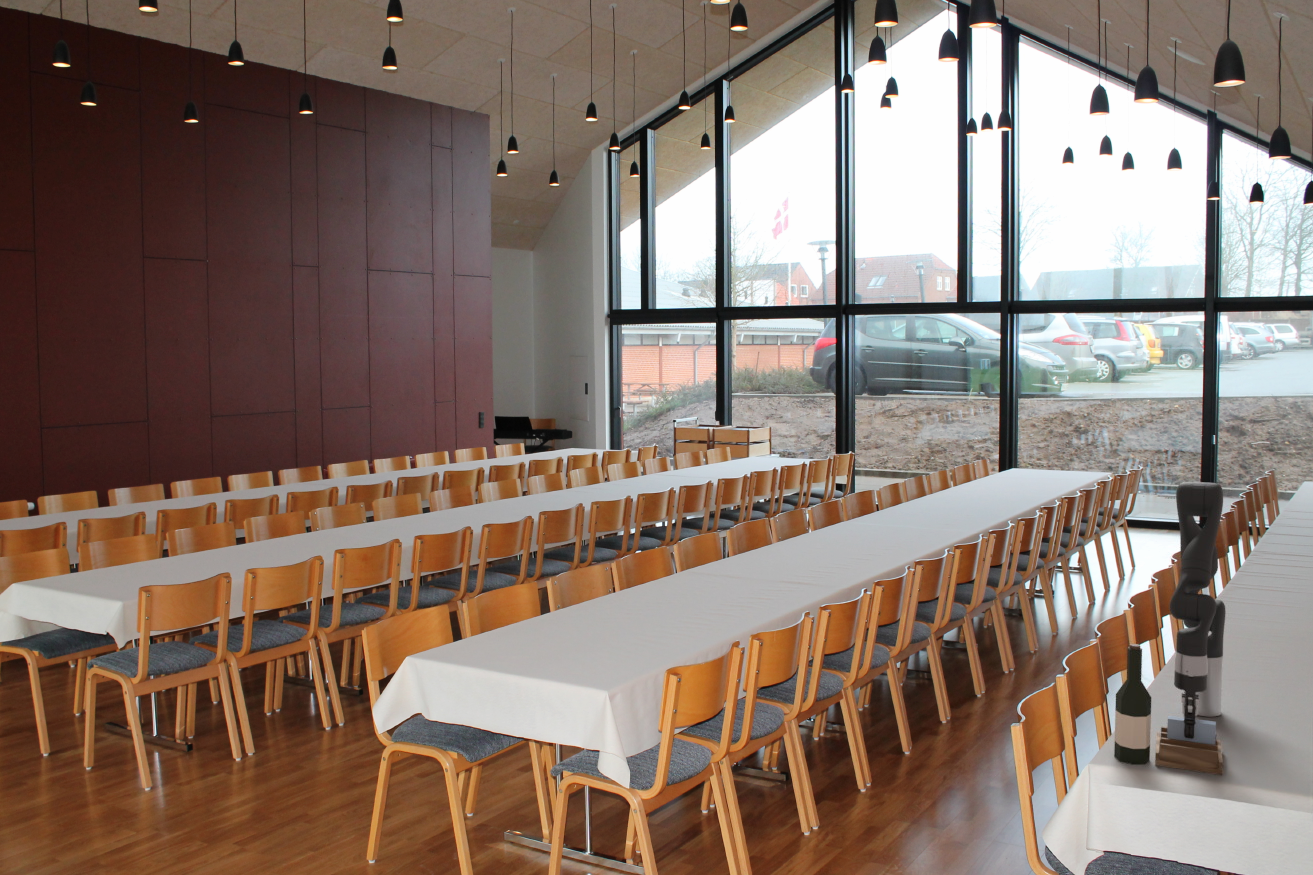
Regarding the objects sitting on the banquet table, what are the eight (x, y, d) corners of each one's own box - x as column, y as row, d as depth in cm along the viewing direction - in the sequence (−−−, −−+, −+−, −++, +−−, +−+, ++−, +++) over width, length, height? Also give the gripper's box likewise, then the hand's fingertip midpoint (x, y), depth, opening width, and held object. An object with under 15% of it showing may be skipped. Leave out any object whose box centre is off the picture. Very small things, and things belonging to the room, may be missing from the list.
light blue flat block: (1166, 748, 274) (1167, 715, 273) (1214, 755, 269) (1215, 721, 268) (1166, 752, 272) (1167, 718, 271) (1214, 759, 267) (1215, 724, 266)
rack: (1156, 743, 281) (1157, 724, 280) (1220, 752, 274) (1220, 732, 274) (1155, 764, 267) (1155, 744, 266) (1222, 774, 260) (1222, 754, 259)
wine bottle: (1150, 766, 266) (1154, 650, 263) (1114, 762, 269) (1117, 647, 266) (1148, 754, 273) (1151, 642, 271) (1113, 750, 276) (1116, 639, 274)
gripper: (1174, 660, 276) (1173, 724, 278) (1174, 675, 264) (1172, 742, 265) (1206, 664, 273) (1204, 728, 274) (1208, 679, 260) (1205, 747, 262)
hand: (1189, 735), depth 270 cm, fingers open, 3 cm apart
